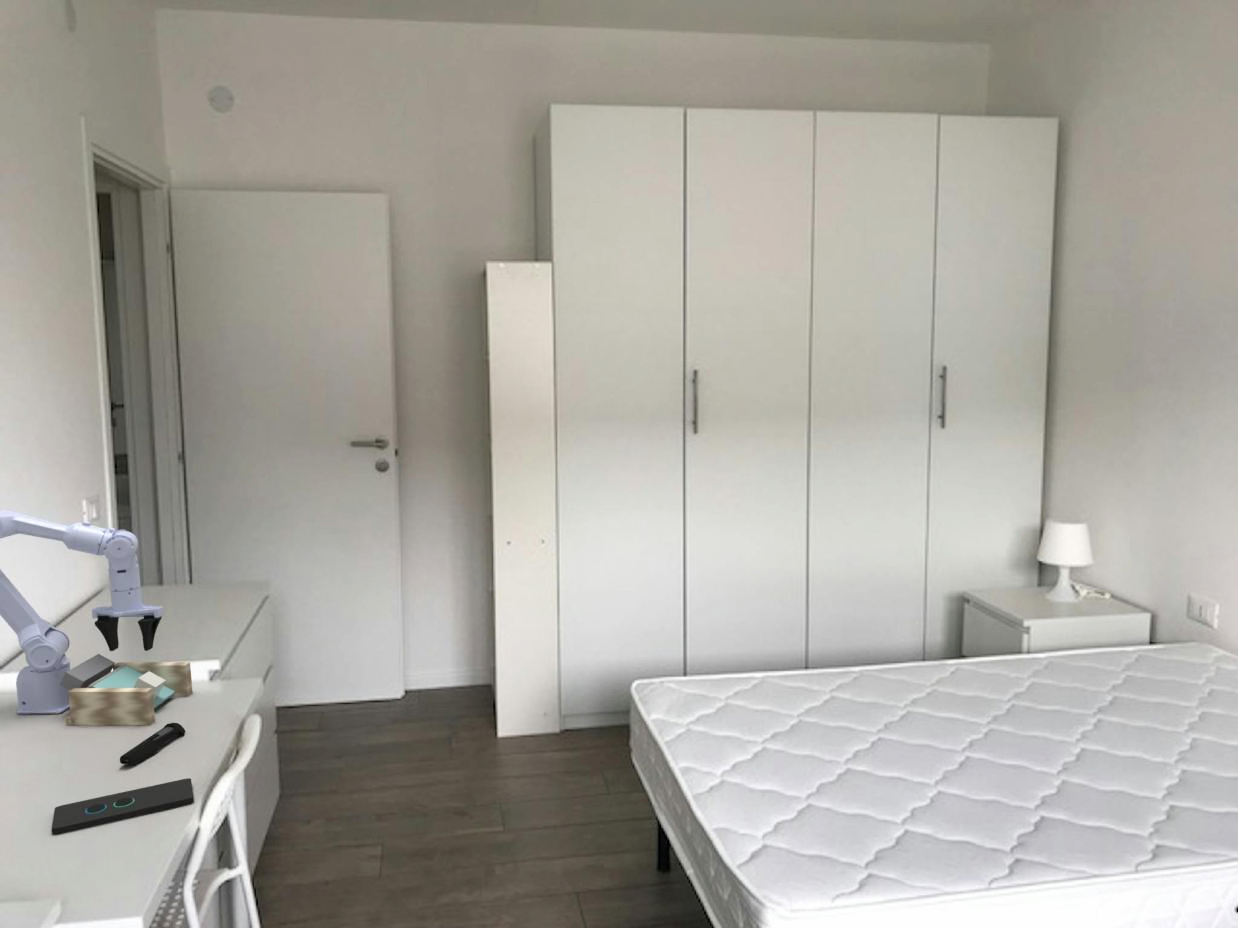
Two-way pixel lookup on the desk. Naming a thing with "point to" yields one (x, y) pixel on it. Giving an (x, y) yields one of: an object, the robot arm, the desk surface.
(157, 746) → the electric trimmer
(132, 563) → the robot arm
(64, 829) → the smart home device
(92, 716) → the rail stand
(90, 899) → the desk surface
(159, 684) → the gray cube
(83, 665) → the trapdoor
